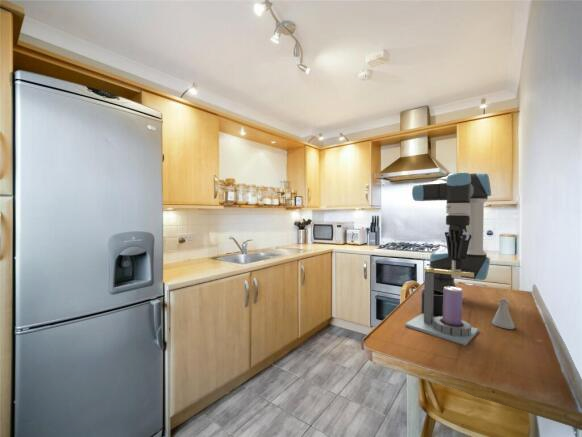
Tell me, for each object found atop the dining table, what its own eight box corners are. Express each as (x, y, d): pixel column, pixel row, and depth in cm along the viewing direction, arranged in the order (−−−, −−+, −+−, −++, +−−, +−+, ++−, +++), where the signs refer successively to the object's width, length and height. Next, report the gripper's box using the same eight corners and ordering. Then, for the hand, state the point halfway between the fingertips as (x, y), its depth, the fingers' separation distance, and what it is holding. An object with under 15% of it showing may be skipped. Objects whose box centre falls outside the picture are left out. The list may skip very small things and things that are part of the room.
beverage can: (458, 334, 92) (459, 291, 92) (439, 328, 97) (441, 287, 96) (463, 329, 96) (464, 288, 96) (445, 324, 101) (446, 285, 100)
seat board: (421, 315, 112) (422, 267, 112) (478, 331, 97) (479, 276, 97) (405, 326, 101) (405, 272, 101) (465, 345, 86) (466, 283, 86)
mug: (448, 320, 107) (449, 298, 107) (418, 312, 116) (418, 291, 116) (455, 314, 114) (455, 293, 114) (425, 307, 122) (426, 288, 122)
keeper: (424, 270, 105) (424, 267, 105) (473, 275, 96) (473, 272, 96) (423, 271, 102) (423, 268, 102) (473, 277, 93) (474, 274, 93)
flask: (493, 320, 108) (493, 296, 108) (516, 326, 103) (516, 300, 102) (489, 325, 103) (490, 300, 103) (514, 331, 98) (514, 304, 97)
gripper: (438, 214, 105) (437, 273, 106) (457, 214, 92) (456, 281, 93) (457, 214, 105) (456, 273, 105) (479, 215, 92) (477, 282, 93)
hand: (456, 277), depth 99 cm, fingers closed
